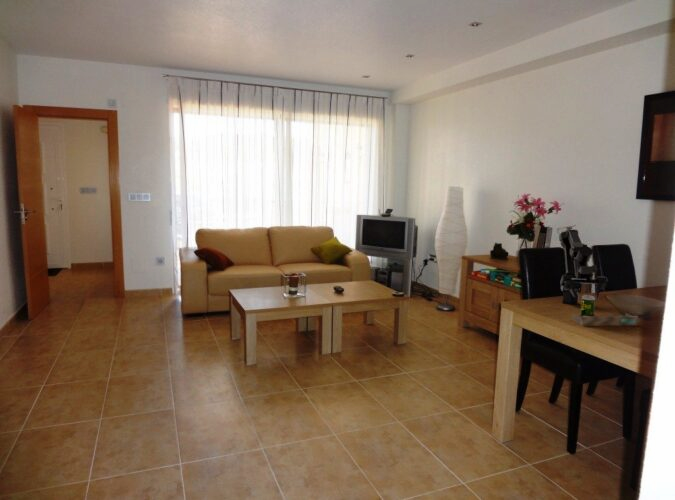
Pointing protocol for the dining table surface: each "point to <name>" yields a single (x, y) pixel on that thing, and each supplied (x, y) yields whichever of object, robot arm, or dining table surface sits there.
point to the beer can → (587, 305)
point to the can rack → (605, 320)
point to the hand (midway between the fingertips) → (586, 297)
